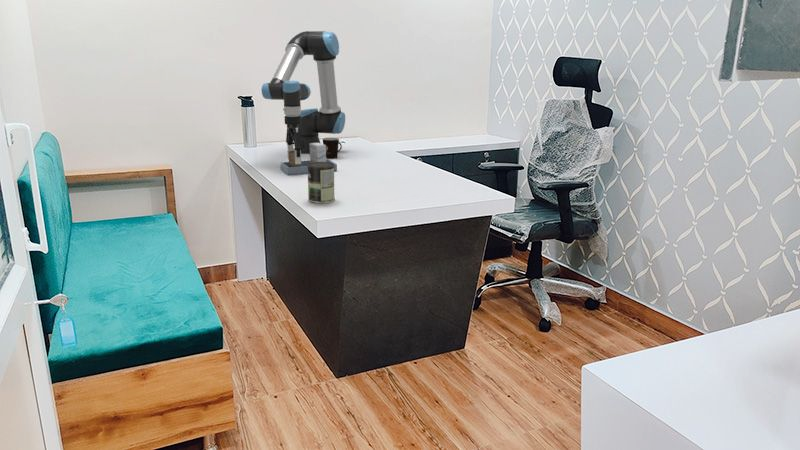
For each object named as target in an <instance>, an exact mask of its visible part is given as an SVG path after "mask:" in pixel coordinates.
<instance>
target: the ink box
mask: <svg viewBox="0 0 800 450" xmlns="http://www.w3.org/2000/svg"><path fill="white" fill-rule="evenodd" d="M309 145H310V153H309V157H310V158H309V160H310V163H313V162H326V145H324V144H323V143H321V142H320V143H310V144H309Z"/></svg>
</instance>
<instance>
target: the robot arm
mask: <svg viewBox="0 0 800 450" xmlns="http://www.w3.org/2000/svg"><path fill="white" fill-rule="evenodd" d="M284 50H285V53H284V55H283V57H282V58H281V61H280V62H279V64H278V66H277V69H275V72H274V74H273V77H272V79H271V80H270V81H269V82H264V83H263V84H262V86H261V96H262V97H263V99H266V100H273V101H274V100H275V101H276V100H278V101H280V100H281V101H283V108H282V111H283V113H284V115H285V116H283V117H284V124H285V125H286V137H285V143H286V147H287V159H288V160H289V151H295V164H301V161H302V154H310V145H309V144H310V143H321V140H320V138H319V137H320V135H319V134H332V135H335V134H337V135H339V134H341V133H342V132H343V131H344V129H345V125H346V114H345V112H344V111H342V110H341V109H342V108H341V107H340V106H339V105H338V96H337V95H338V94H337V85H336V75H335V64H334V63H335V62H334V61H335V60H336V59H337V56H338V55H339V52H340V44H339V40H338V37H337V35H336V33H335V32H333V31H326V30H325V31H324V30H321V31H320V30H319V31H317V30H316V31H315V30H314V31H313V30H312V31H309V30H307V31H306V30H305V31H301V32H299V33H297V34H296V35H295V36H294V37H292V38H291V39H290V40H289V41H288V42H287V45H286V46H285V49H284ZM305 56H312V58H313V59H312V60H313V61H315V62H316V67H317V74H318V76H317V77H318V83H319V84H318V85H319V95H320V104H321V106H320V108H319V109H318V108H305V109H302V108H301V107H302V105H301V101H305V100H307V99H309V97H310V96H311V92H312V90H311V88H310V86H309V85H307V84H306V83H303V82H301V83H300V81H299V80H290V79H291V77H292V76H293V73H294V72H295V70H296V67H297V66H298V64H299V61H300V60H302V59H303V57H305Z"/></svg>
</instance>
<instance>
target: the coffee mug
mask: <svg viewBox="0 0 800 450" xmlns="http://www.w3.org/2000/svg"><path fill="white" fill-rule="evenodd" d="M322 144H324V145H326V159H329V160H334V159H335V160H336V159H337V158H338V153H339V152H340V151H342V148H343V146H342V143H341V142H340V138H339V137H323V138H322ZM339 146H340V148H339Z"/></svg>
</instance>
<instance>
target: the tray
mask: <svg viewBox="0 0 800 450" xmlns="http://www.w3.org/2000/svg"><path fill="white" fill-rule="evenodd" d="M326 162H330V163H333V164H334V173H336V172H338V165H337V163H335V162H334V161H332V160H331V159H326ZM309 163H310V159H309V160H301V164H300V167H289V161H282V162H280V170H281V171H282V172H283V173H284V174H286V175H287V176H296V175H308V167H307V164H309Z"/></svg>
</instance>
